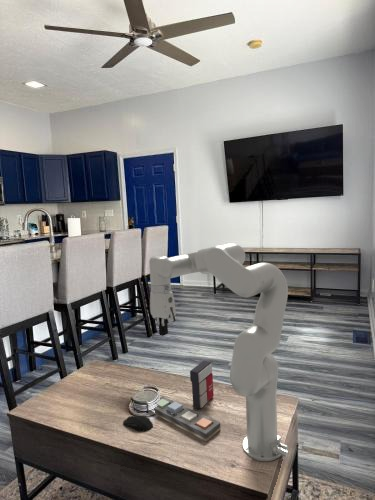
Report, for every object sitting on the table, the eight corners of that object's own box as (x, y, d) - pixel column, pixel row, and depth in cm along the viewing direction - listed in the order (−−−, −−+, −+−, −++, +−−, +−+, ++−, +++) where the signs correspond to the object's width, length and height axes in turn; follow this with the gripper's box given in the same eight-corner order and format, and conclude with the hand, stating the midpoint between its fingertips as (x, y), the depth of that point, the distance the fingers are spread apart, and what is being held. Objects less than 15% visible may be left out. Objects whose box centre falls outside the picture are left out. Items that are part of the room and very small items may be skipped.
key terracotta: (212, 427, 124) (212, 421, 124) (205, 432, 121) (204, 427, 121) (203, 422, 127) (203, 417, 127) (196, 428, 124) (195, 422, 124)
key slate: (182, 409, 133) (182, 404, 133) (175, 414, 130) (175, 409, 130) (175, 406, 136) (174, 401, 136) (167, 411, 133) (167, 406, 133)
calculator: (201, 410, 137) (199, 373, 135) (191, 407, 139) (189, 370, 137) (214, 397, 146) (213, 362, 144) (205, 394, 148) (203, 360, 146)
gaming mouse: (123, 416, 136) (122, 406, 135) (156, 425, 129) (155, 415, 129) (112, 426, 130) (112, 415, 130) (146, 436, 124) (146, 425, 123)
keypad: (220, 429, 124) (220, 422, 124) (206, 441, 118) (205, 433, 118) (162, 402, 144) (162, 396, 143) (148, 411, 138) (147, 405, 138)
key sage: (169, 406, 138) (169, 401, 138) (162, 411, 135) (162, 406, 135) (162, 403, 141) (162, 398, 141) (155, 407, 138) (154, 403, 138)
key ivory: (197, 419, 129) (196, 414, 129) (189, 425, 126) (189, 419, 126) (188, 415, 131) (188, 410, 131) (181, 421, 129) (181, 415, 128)
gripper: (181, 288, 134) (184, 335, 136) (154, 284, 144) (157, 328, 146) (167, 292, 129) (170, 341, 131) (140, 288, 139) (143, 333, 141)
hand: (163, 334), depth 138 cm, fingers closed
